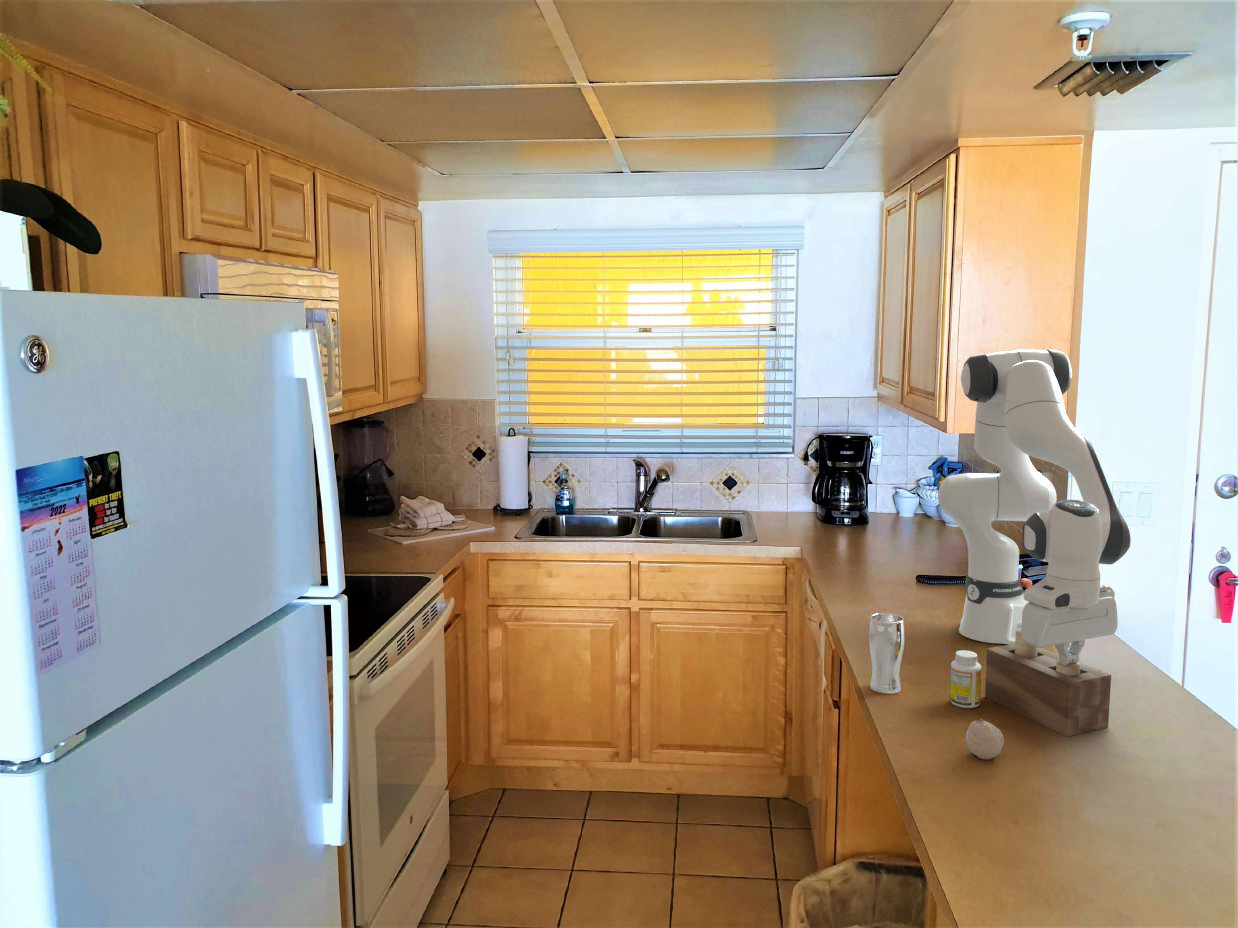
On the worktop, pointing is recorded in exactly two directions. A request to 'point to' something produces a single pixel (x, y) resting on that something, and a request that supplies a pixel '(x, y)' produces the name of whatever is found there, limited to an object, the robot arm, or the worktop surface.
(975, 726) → the garlic bulb
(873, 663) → the beer glass
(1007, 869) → the worktop surface
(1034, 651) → the peg
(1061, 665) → the peg
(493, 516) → the worktop surface
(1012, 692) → the block
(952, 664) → the supplement bottle
